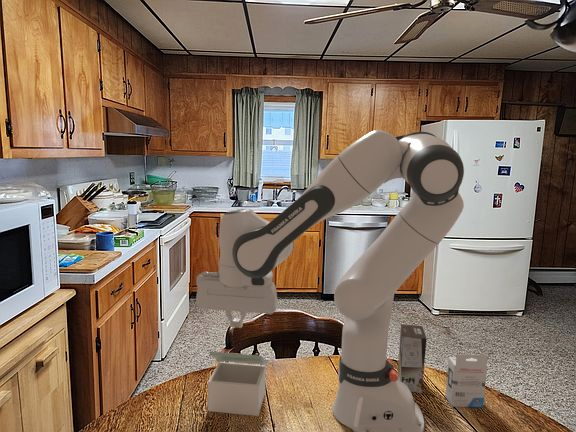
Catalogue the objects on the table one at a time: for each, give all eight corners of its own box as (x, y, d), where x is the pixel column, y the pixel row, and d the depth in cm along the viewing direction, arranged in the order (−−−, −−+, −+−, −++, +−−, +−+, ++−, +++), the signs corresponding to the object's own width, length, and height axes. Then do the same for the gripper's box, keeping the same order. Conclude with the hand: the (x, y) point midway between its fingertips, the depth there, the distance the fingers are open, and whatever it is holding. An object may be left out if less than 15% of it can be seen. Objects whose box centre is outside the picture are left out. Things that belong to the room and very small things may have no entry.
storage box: (265, 392, 110) (265, 365, 109) (258, 416, 100) (258, 386, 99) (219, 388, 111) (219, 361, 110) (208, 411, 102) (207, 381, 100)
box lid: (266, 364, 109) (266, 361, 109) (260, 359, 100) (261, 355, 100) (218, 360, 110) (219, 357, 111) (209, 354, 101) (210, 351, 102)
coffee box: (423, 393, 111) (427, 338, 109) (399, 390, 113) (402, 336, 110) (419, 376, 120) (423, 325, 118) (397, 373, 121) (400, 323, 119)
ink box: (475, 396, 110) (480, 346, 108) (483, 407, 106) (489, 355, 103) (444, 395, 110) (448, 345, 108) (451, 407, 106) (456, 354, 103)
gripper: (191, 274, 97) (192, 328, 99) (275, 280, 95) (273, 335, 97) (200, 267, 103) (200, 318, 105) (279, 272, 101) (277, 324, 103)
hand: (236, 326), depth 101 cm, fingers closed
